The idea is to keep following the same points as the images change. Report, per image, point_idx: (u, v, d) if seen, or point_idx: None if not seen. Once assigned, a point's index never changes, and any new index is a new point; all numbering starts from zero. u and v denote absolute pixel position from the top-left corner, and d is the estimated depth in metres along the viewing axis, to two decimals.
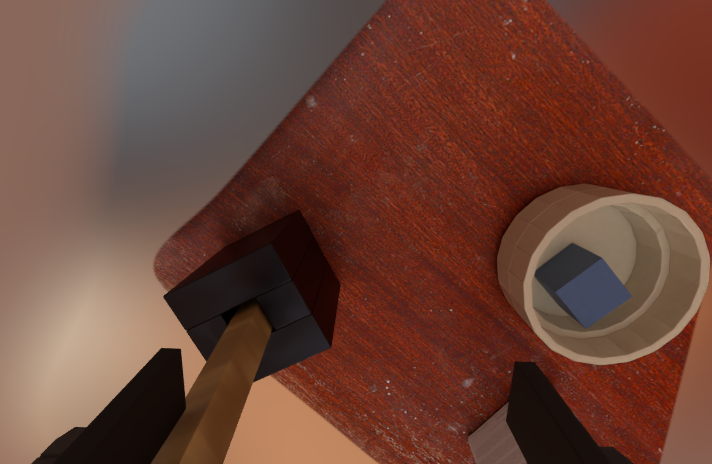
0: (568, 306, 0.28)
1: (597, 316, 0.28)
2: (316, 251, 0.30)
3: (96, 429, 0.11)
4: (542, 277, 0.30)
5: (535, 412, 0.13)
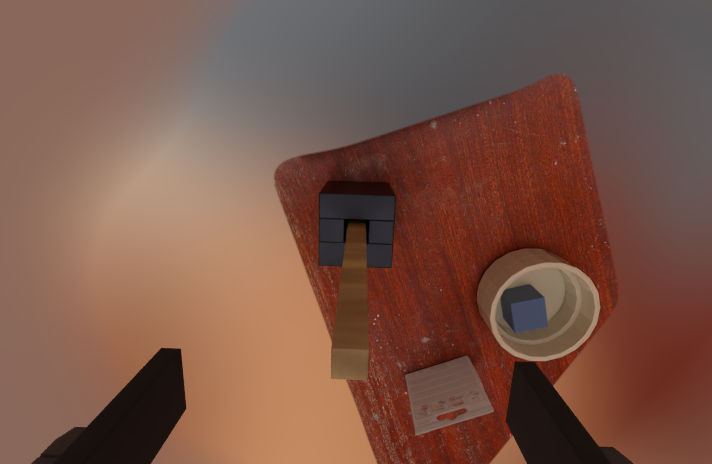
0: (513, 315, 0.45)
1: (524, 328, 0.46)
2: None
3: (96, 429, 0.11)
4: (505, 294, 0.47)
5: (535, 412, 0.13)
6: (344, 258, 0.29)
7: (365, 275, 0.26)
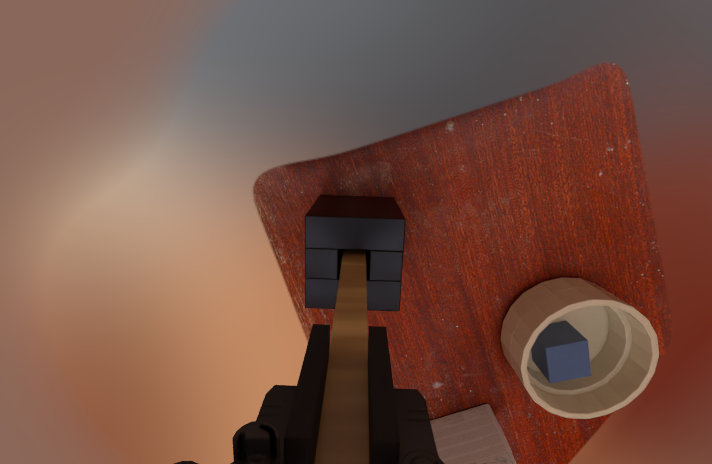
0: (548, 362, 0.37)
1: (562, 378, 0.37)
2: None
3: (306, 384, 0.13)
4: None
5: (369, 364, 0.15)
6: (335, 316, 0.20)
7: (365, 351, 0.17)
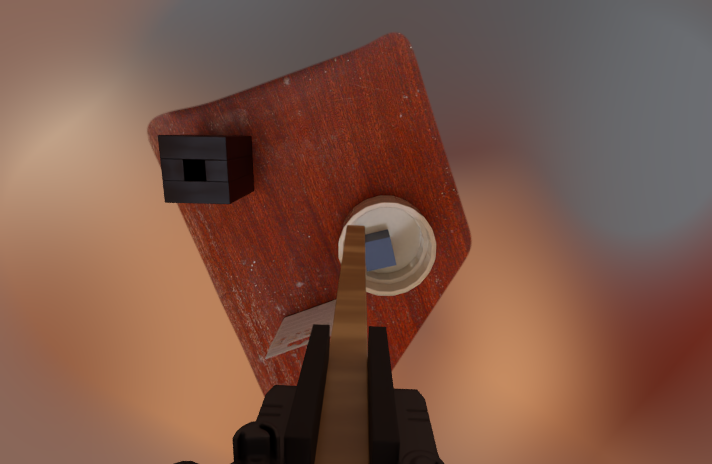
0: None
1: (375, 267, 0.50)
2: (249, 162, 0.50)
3: (306, 384, 0.13)
4: None
5: (369, 364, 0.15)
6: (335, 319, 0.20)
7: (365, 353, 0.17)
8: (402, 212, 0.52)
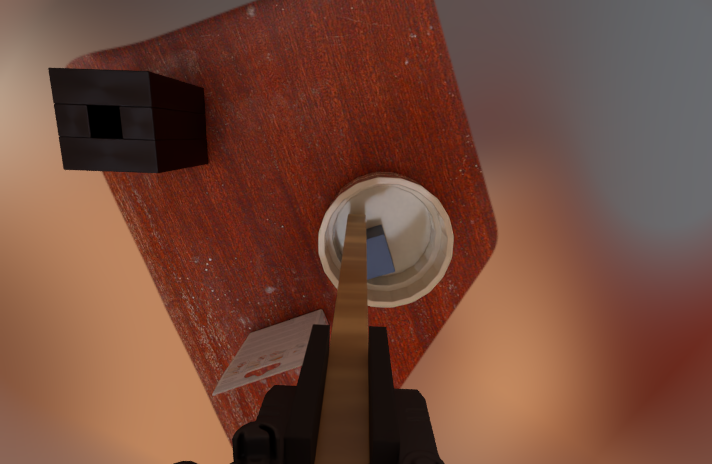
0: None
1: (367, 276, 0.37)
2: (198, 123, 0.36)
3: (306, 384, 0.13)
4: None
5: (369, 364, 0.15)
6: (336, 313, 0.20)
7: (366, 349, 0.17)
8: (406, 195, 0.39)
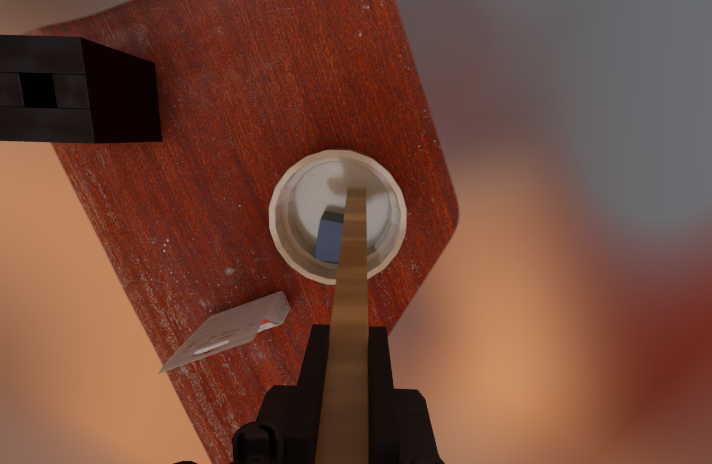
0: (318, 235, 0.36)
1: (327, 257, 0.36)
2: (148, 98, 0.36)
3: (306, 384, 0.13)
4: (325, 214, 0.38)
5: (369, 364, 0.15)
6: (335, 301, 0.20)
7: (365, 340, 0.17)
8: (364, 172, 0.38)
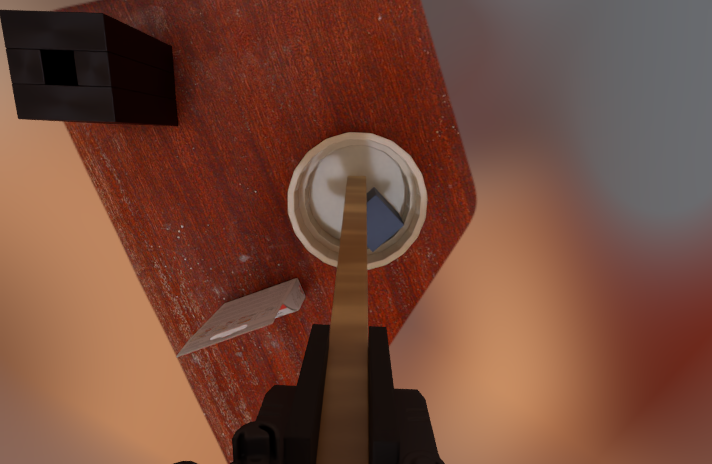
0: None
1: None
2: (166, 81, 0.35)
3: (306, 384, 0.13)
4: (376, 191, 0.37)
5: (369, 364, 0.15)
6: (335, 300, 0.20)
7: (365, 343, 0.17)
8: (382, 157, 0.38)
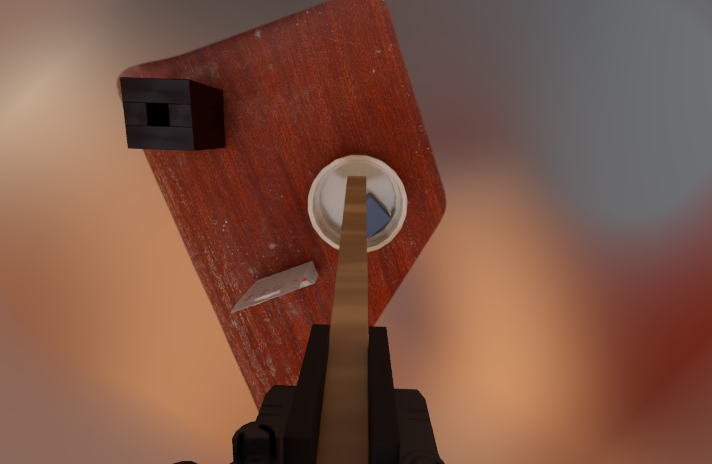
0: None
1: None
2: (219, 116, 0.49)
3: (306, 384, 0.13)
4: (371, 195, 0.51)
5: (369, 364, 0.15)
6: (335, 300, 0.20)
7: (365, 343, 0.17)
8: (375, 171, 0.52)
